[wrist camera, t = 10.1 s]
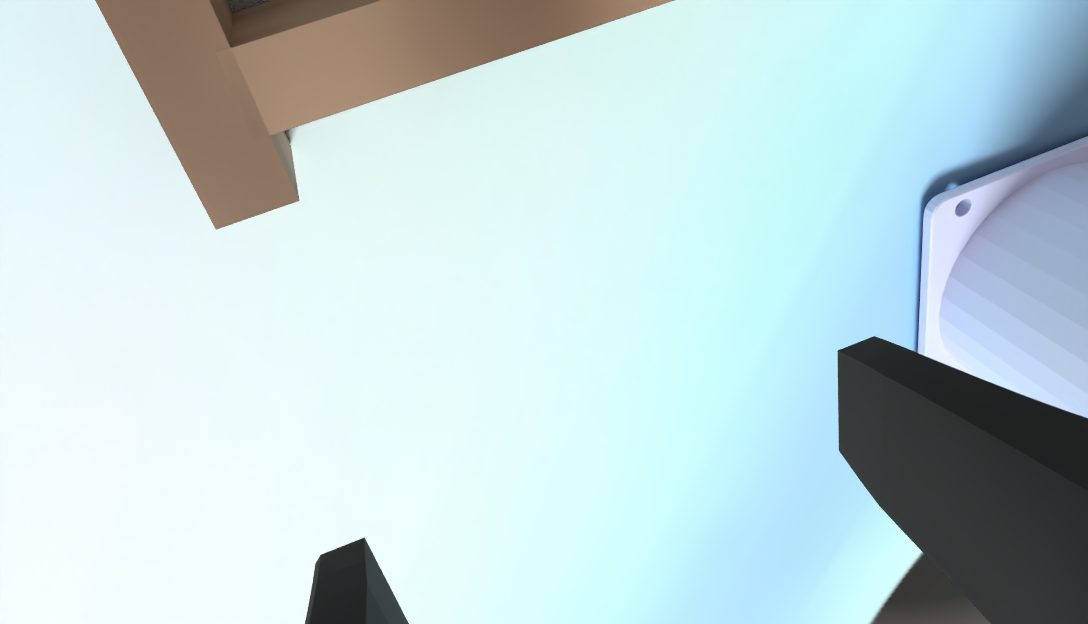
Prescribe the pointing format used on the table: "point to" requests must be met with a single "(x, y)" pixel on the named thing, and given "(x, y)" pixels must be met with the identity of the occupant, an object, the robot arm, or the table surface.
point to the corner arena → (308, 71)
